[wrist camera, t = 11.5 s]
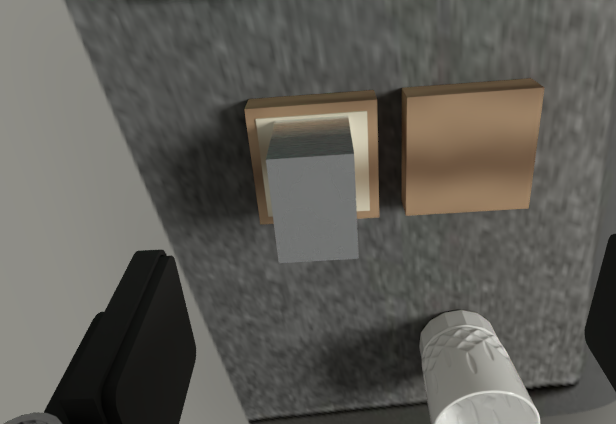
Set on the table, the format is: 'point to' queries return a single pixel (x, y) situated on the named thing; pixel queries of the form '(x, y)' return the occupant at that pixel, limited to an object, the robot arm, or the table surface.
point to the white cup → (471, 374)
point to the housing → (313, 189)
